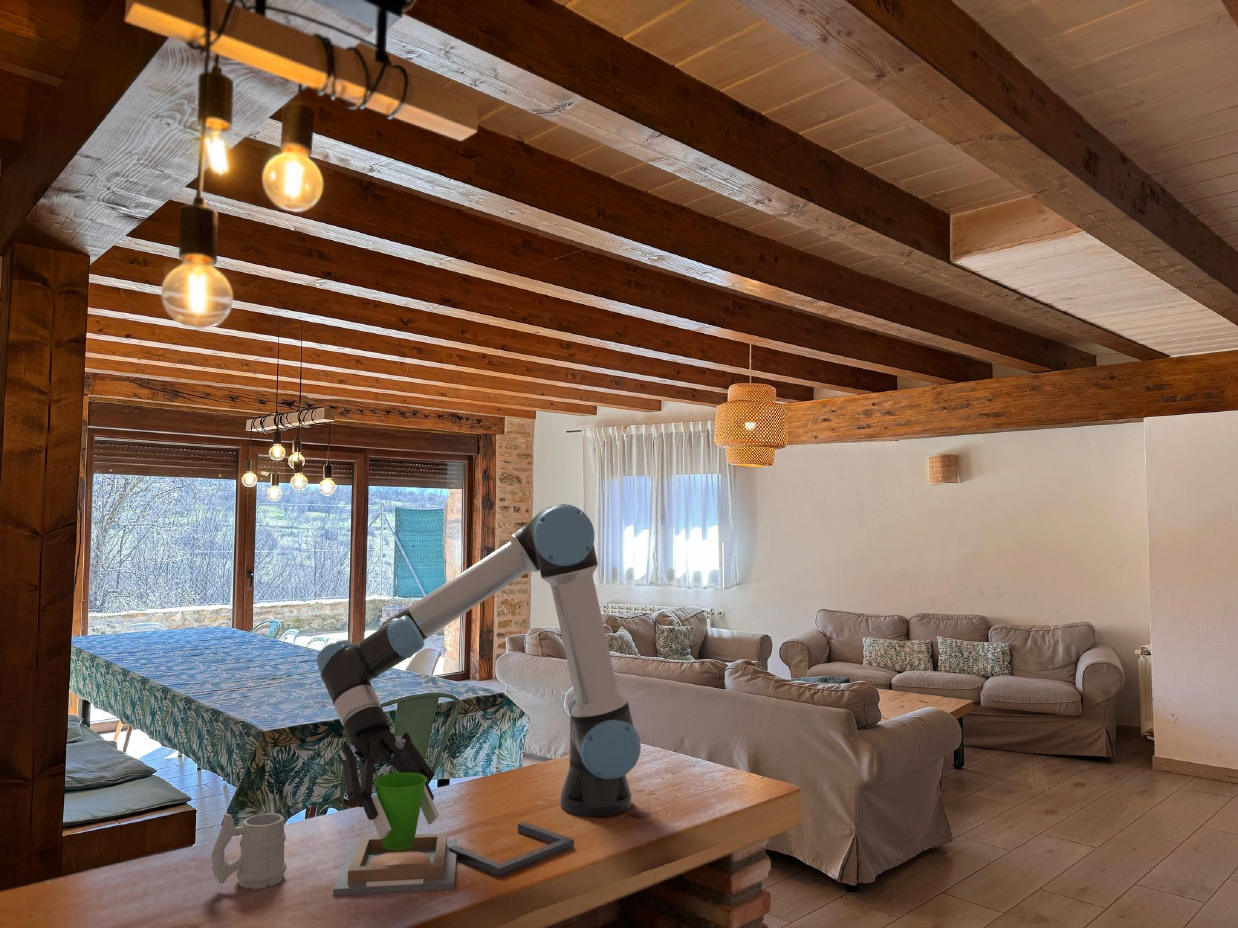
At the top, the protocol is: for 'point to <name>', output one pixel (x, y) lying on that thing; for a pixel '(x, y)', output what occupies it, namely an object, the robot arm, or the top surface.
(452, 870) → the socket board
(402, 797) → the cup
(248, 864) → the mug
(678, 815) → the top surface
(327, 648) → the robot arm
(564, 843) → the dark grey u frame
